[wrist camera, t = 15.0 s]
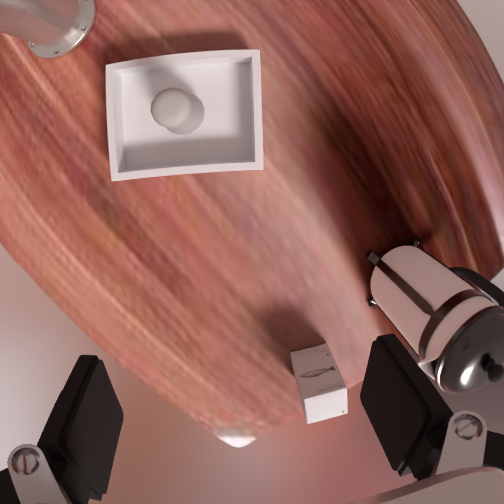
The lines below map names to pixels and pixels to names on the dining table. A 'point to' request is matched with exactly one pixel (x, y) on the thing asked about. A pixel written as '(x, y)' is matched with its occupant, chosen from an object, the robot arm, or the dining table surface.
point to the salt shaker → (177, 111)
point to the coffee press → (442, 316)
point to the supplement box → (319, 383)
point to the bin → (211, 129)
